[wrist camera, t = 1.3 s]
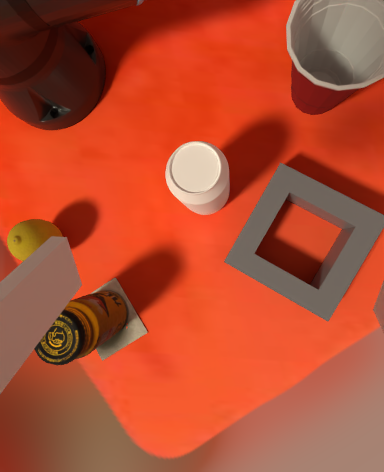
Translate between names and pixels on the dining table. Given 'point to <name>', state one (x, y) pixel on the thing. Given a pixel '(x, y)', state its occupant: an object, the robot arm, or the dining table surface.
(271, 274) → the square frame
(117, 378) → the dining table surface
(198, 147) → the beverage can
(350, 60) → the plastic cup
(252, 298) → the dining table surface
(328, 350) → the dining table surface
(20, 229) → the lemon
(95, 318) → the condiment
